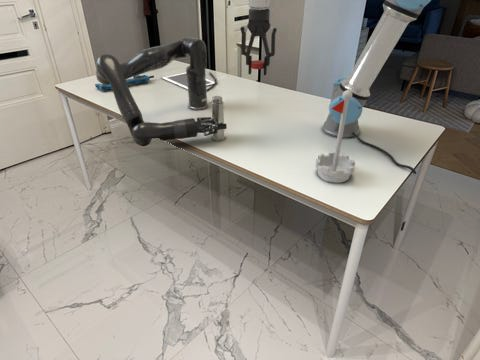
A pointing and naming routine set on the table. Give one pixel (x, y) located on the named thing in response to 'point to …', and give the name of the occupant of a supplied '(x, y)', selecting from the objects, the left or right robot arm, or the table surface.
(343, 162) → the flag stand
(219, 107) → the jar
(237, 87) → the table surface
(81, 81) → the table surface
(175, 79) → the tablet
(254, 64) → the lid
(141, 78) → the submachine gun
